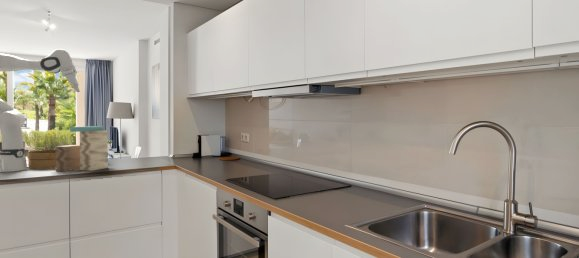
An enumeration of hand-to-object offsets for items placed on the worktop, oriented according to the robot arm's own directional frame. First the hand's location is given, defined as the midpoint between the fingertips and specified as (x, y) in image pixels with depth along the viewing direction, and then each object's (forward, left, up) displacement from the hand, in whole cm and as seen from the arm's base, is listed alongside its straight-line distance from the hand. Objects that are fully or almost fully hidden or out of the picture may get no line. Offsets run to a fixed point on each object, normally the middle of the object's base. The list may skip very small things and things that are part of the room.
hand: (77, 91), depth 236 cm
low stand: (+3, -10, -53) cm, 54 cm away
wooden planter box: (-24, -2, -53) cm, 58 cm away
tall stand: (+16, -3, -53) cm, 56 cm away
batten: (+16, -8, -27) cm, 32 cm away
